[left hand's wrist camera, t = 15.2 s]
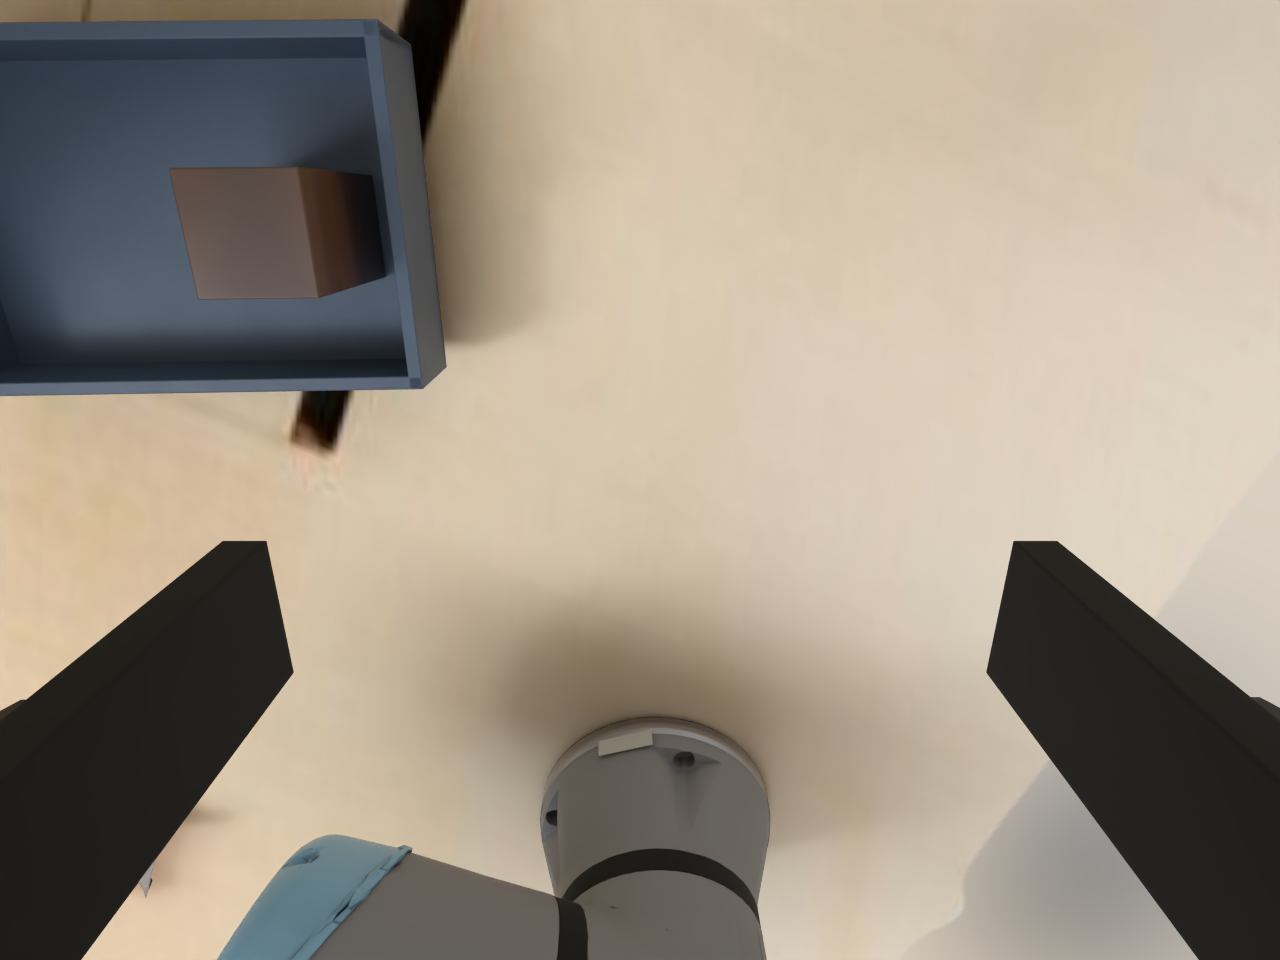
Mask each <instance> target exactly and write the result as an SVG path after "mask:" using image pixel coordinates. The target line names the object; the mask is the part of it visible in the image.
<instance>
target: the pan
mask: <svg viewBox="0 0 1280 960" xmlns="http://www.w3.org/2000/svg"><path fill="white" fill-rule="evenodd" d="M294 166H297V167H306V168H315V169H324V170H333V171H342V172H351V173H360V174H369V175H372V178H373V185H374V193H375V200H376V208H377V215H378V223H379V230H380V237H381V245H382V252H383V260H384V267H385V275H386V277H385V278H382V279H379V280H376V281H372V282H369V283H366V284H363V285H360V286H356V287H353V288H350V289H347V290H344V291H340V292H337V293H334V294H331V295H328V296H324V297H321V298H302V299H225V300H200V299H198V296H197V292H196V287H195V283H194V279H193V274H192V270H191V265H190V261H189V257H188V252H187V248H186V243H185V239H184V235H183V230H182V226H181V221H180V217H179V213H178V208H177V204H176V199H175V195H174V191H173V186H172V182H171V177H170V173H169V168H194V167H294ZM445 368H446V358H445V349H444V339H443V330H442V321H441V312H440V303H439V294H438V285H437V276H436V267H435V258H434V249H433V240H432V231H431V222H430V213H429V204H428V195H427V186H426V177H425V167H424V158H423V149H422V140H421V131H420V122H419V113H418V104H417V95H416V86H415V77H414V68H413V59H412V50H411V44H409V43H408V42H407V41H405V40H404V39H403V38H401V37H400V36H399V35H397V34H396V33H395V32H393V31H392V30H391V29H389V28H388V27H387V26H385V25H384V24H383V23H381V22H380V21H379V20H377V19H348V20H234V21H119V22H4V23H0V396H30V395H90V394H149V393H209V392H269V391H329V390H388V389H423V388H424V387H425V386H426V385H428V384H429V383H430V382H431V381H432V380H433V379H434V378H435V377H436V376H437V375H438V374H439V373H440V372H442V371H443V370H444V369H445Z"/></svg>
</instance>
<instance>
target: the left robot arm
mask: <svg viewBox="0 0 1280 960" xmlns="http://www.w3.org/2000/svg"><path fill="white" fill-rule="evenodd" d="M293 673H294V672H293V667H292V662H291V657H290V653H289V648H288V643H287V638H286V633H285V629H284V624H283V619H282V614H281V609H280V604H279V600H278V595H277V590H276V585H275V580H274V576H273V571H272V566H271V561H270V556H269V551H268V547H267V542H266V541H222V542H221V543H220V544H219V545H217V546H216V547H215V548H214V549H212V550H211V551H210V552H209V553H207V554H206V555H205V556H204V557H202V558H201V559H200V560H199V561H198V562H196V563H195V564H194V565H193V566H191V567H190V568H189V569H188V570H186V571H185V572H184V573H183V574H181V575H180V576H179V577H178V578H176V579H175V580H174V581H173V582H172V583H170V584H169V585H168V586H167V587H165V588H164V589H163V590H162V591H160V592H159V593H158V594H157V595H155V596H154V597H153V598H152V599H150V600H149V601H148V602H147V603H146V604H144V605H143V606H142V607H141V608H139V609H138V610H137V611H136V612H134V613H133V614H132V615H131V616H129V617H128V618H127V619H126V620H124V621H123V622H122V623H121V624H120V625H118V626H117V627H116V628H115V629H113V630H112V631H111V632H110V633H108V634H107V635H106V636H105V637H103V638H102V639H101V640H100V641H99V642H97V643H96V644H95V645H94V646H92V647H91V648H90V649H89V650H87V651H86V652H85V653H84V654H82V655H81V656H80V657H79V658H77V659H76V660H75V661H74V662H73V663H71V664H70V665H69V666H68V667H66V668H65V669H64V670H63V671H61V672H60V673H59V674H58V675H56V676H55V677H54V678H53V679H51V680H50V681H49V682H48V683H47V684H45V685H44V686H43V687H42V688H40V689H39V690H38V691H37V692H35V693H34V694H33V695H32V696H30V697H29V698H28V699H27V700H20V701H18V702H16V703H14V704H12V705H11V706H9V707H7V708H5V709H3V710H1V711H0V960H81V959H82V958H83V957H84V955H85V954H86V953H87V951H88V950H89V948H90V947H91V946H92V944H93V943H94V942H95V940H96V939H97V938H98V936H99V935H100V934H101V932H102V931H103V930H104V928H105V927H106V925H107V924H108V923H109V921H110V920H111V919H112V917H113V916H114V915H115V913H116V912H117V911H118V909H119V908H120V907H121V905H122V904H123V903H124V901H125V900H126V898H127V897H128V896H129V894H130V893H131V892H132V890H133V889H134V888H135V886H136V885H137V884H138V882H139V881H140V880H141V878H142V877H143V875H144V874H145V873H146V871H147V870H148V869H149V867H150V866H151V865H152V863H153V862H154V861H155V859H156V858H157V857H158V855H159V854H160V852H161V851H162V850H163V848H164V847H165V846H166V844H167V843H168V842H169V840H170V839H171V838H172V836H173V835H174V834H175V832H176V831H177V829H178V828H179V827H180V825H181V824H182V823H183V821H184V820H185V819H186V817H187V816H188V815H189V813H190V812H191V811H192V809H193V808H194V807H195V805H196V804H197V802H198V801H199V800H200V798H201V797H202V796H203V794H204V793H205V792H206V790H207V789H208V788H209V786H210V785H211V784H212V782H213V781H214V779H215V778H216V777H217V775H218V774H219V773H220V771H221V770H222V769H223V767H224V766H225V765H226V763H227V762H228V761H229V759H230V758H231V756H232V755H233V754H234V752H235V751H236V750H237V748H238V747H239V746H240V744H241V743H242V742H243V740H244V739H245V738H246V736H247V735H248V733H249V732H250V731H251V729H252V728H253V727H254V725H255V724H256V723H257V721H258V720H259V719H260V717H261V716H262V715H263V713H264V712H265V710H266V709H267V708H268V706H269V705H270V704H271V702H272V701H273V700H274V698H275V697H276V696H277V694H278V693H279V692H280V690H281V689H282V688H283V686H284V685H285V683H286V682H287V681H288V679H289V678H290V677H291V675H292V674H293ZM986 673H987V674H988V675H989V677H990V678H991V679H992V681H993V682H994V683H995V685H996V686H997V688H998V689H999V690H1000V692H1001V693H1002V694H1003V696H1004V697H1005V698H1006V700H1007V701H1008V702H1009V704H1010V705H1011V706H1012V708H1013V709H1014V711H1015V712H1016V713H1017V715H1018V716H1019V717H1020V719H1021V720H1022V721H1023V723H1024V724H1025V725H1026V727H1027V728H1028V729H1029V731H1030V732H1031V733H1032V735H1033V736H1034V738H1035V739H1036V740H1037V742H1038V743H1039V744H1040V746H1041V747H1042V748H1043V750H1044V751H1045V752H1046V754H1047V755H1048V756H1049V758H1050V759H1051V760H1052V762H1053V763H1054V765H1055V766H1056V767H1057V769H1058V770H1059V771H1060V773H1061V774H1062V775H1063V777H1064V778H1065V779H1066V781H1067V782H1068V784H1069V785H1070V786H1071V788H1072V789H1073V790H1074V792H1075V793H1076V794H1077V796H1078V797H1079V798H1080V800H1081V801H1082V802H1083V804H1084V805H1085V807H1086V808H1087V809H1088V811H1089V812H1090V813H1091V815H1092V816H1093V817H1094V819H1095V820H1096V821H1097V823H1098V824H1099V825H1100V827H1101V828H1102V829H1103V831H1104V832H1105V834H1106V835H1107V836H1108V838H1109V839H1110V840H1111V842H1112V843H1113V844H1114V846H1115V847H1116V848H1117V850H1118V851H1119V852H1120V854H1121V855H1122V857H1123V858H1124V859H1125V861H1126V862H1127V863H1128V865H1129V866H1130V867H1131V869H1132V870H1133V871H1134V873H1135V874H1136V875H1137V877H1138V878H1139V879H1140V881H1141V882H1142V884H1143V885H1144V886H1145V888H1146V889H1147V890H1148V892H1149V893H1150V894H1151V896H1152V897H1153V898H1154V900H1155V901H1156V903H1157V904H1158V905H1159V907H1160V908H1161V909H1162V910H1163V912H1164V913H1165V915H1166V916H1167V917H1168V919H1169V920H1170V921H1171V923H1172V924H1173V925H1174V927H1175V928H1176V930H1177V931H1178V932H1179V934H1180V935H1181V936H1182V938H1183V939H1184V940H1185V942H1186V943H1187V944H1188V946H1189V947H1190V948H1191V950H1192V951H1193V953H1194V954H1195V955H1196V957H1197V958H1198V959H1199V960H1280V708H1279V707H1277V706H1275V705H1273V704H1271V703H1270V702H1268V701H1266V700H1264V699H1262V698H1260V697H1250V696H1248V695H1247V694H1246V693H1245V692H1243V691H1242V690H1241V689H1240V688H1238V687H1237V686H1236V685H1235V684H1233V683H1232V682H1231V681H1230V680H1229V679H1227V678H1226V677H1225V676H1223V675H1222V674H1221V673H1220V672H1219V671H1217V670H1216V669H1215V668H1214V667H1212V666H1211V665H1210V664H1209V663H1207V662H1206V661H1205V660H1204V659H1203V658H1201V657H1200V656H1199V655H1198V654H1196V653H1195V652H1194V651H1193V650H1191V649H1190V648H1189V647H1188V646H1186V645H1185V644H1184V643H1183V642H1181V641H1180V640H1179V639H1178V638H1177V637H1175V636H1174V635H1173V634H1172V633H1170V632H1169V631H1168V630H1167V629H1165V628H1164V627H1163V626H1162V625H1160V624H1159V623H1158V622H1157V621H1155V620H1154V619H1153V618H1152V617H1151V616H1149V615H1148V614H1147V613H1146V612H1144V611H1143V610H1142V609H1141V608H1139V607H1138V606H1137V605H1136V604H1134V603H1133V602H1132V601H1131V600H1130V599H1128V598H1127V597H1126V596H1125V595H1123V594H1122V593H1121V592H1120V591H1118V590H1117V589H1116V588H1115V587H1113V586H1112V585H1111V584H1110V583H1108V582H1107V581H1106V580H1105V579H1104V578H1102V577H1101V576H1100V575H1099V574H1097V573H1096V572H1095V571H1094V570H1092V569H1091V568H1090V567H1089V566H1087V565H1086V564H1085V563H1084V562H1082V561H1081V560H1080V559H1079V558H1078V557H1076V556H1075V555H1074V554H1073V553H1071V552H1070V551H1069V550H1068V549H1066V548H1065V547H1064V546H1063V545H1061V544H1060V543H1059V542H1058V541H1014V542H1013V547H1012V551H1011V556H1010V561H1009V566H1008V571H1007V576H1006V580H1005V585H1004V590H1003V595H1002V600H1001V604H1000V609H999V614H998V619H997V624H996V629H995V633H994V638H993V643H992V648H991V653H990V657H989V662H988V667H987V672H986ZM540 822H541V836H542V843H543V848H544V852H545V856H546V861H547V865H548V869H549V873H550V878H551V882H552V886H553V891H554V895H555V896H553V895H551V894H547V893H544V892H540V891H537V890H533V889H530V888H526V887H523V886H519V885H516V884H512V883H509V882H505V881H502V880H498V879H495V878H491V877H488V876H484V875H481V874H478V873H475V872H472V871H468V870H465V869H462V868H459V867H456V866H452V865H449V864H446V863H443V862H439V861H436V860H433V859H430V858H427V857H423V856H420V855H417V854H414V853H411V852H412V848H411V847H408V846H405V845H403V846H400V847H398V848H395V847H391V846H387V845H382V844H378V843H374V842H370V841H365V840H361V839H357V838H353V837H349V836H344V835H327V836H323V837H320V838H317V839H315V840H313V841H311V842H309V843H308V844H306V845H304V846H303V847H302V848H300V849H299V850H298V851H297V852H296V853H295V854H294V855H293V856H291V857H290V858H289V860H288V861H287V862H286V863H285V864H284V865H283V866H282V867H281V869H280V870H279V871H278V872H277V874H276V875H275V876H274V877H273V879H272V880H271V881H270V883H269V884H268V885H267V887H266V888H265V889H264V891H263V892H262V893H261V895H260V896H259V898H258V899H257V900H256V902H255V903H254V905H253V906H252V907H251V909H250V910H249V912H248V913H247V915H246V916H245V918H244V919H243V921H242V922H241V924H240V925H239V927H238V928H237V930H236V931H235V933H234V934H233V936H232V937H231V939H230V940H229V942H228V943H227V945H226V946H225V948H224V949H223V951H222V952H221V954H220V956H219V957H218V959H217V960H767V959H766V954H765V948H764V942H763V936H762V931H761V926H760V920H759V914H758V907H757V903H758V898H759V892H760V886H761V881H762V875H763V870H764V864H765V858H766V852H767V846H768V841H769V835H770V811H769V805H768V800H767V795H766V791H765V787H764V783H763V780H762V777H761V775H760V773H759V771H758V769H757V767H756V766H755V764H754V763H753V761H752V760H751V759H750V757H749V756H748V755H747V754H746V753H745V752H744V751H743V750H742V749H741V748H740V747H739V746H738V745H737V744H736V743H734V742H733V741H731V740H730V739H729V738H727V737H726V736H724V735H722V734H720V733H719V732H717V731H715V730H712V729H710V728H708V727H705V726H703V725H700V724H697V723H693V722H689V721H685V720H680V719H673V718H657V717H651V718H638V719H631V720H626V721H622V722H618V723H615V724H611V725H608V726H606V727H603V728H601V729H599V730H596V731H594V732H592V733H591V734H589V735H587V736H585V737H584V738H582V739H581V740H579V741H578V742H577V743H575V744H574V745H573V746H572V747H570V748H569V749H568V750H567V751H566V752H565V753H564V754H563V756H562V757H561V758H560V759H559V760H558V762H557V763H556V765H555V766H554V768H553V769H552V771H551V773H550V776H549V778H548V780H547V783H546V786H545V791H544V796H543V802H542V808H541V818H540Z"/></svg>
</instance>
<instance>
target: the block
mask: <svg viewBox="0 0 1280 960" xmlns="http://www.w3.org/2000/svg"><path fill="white" fill-rule="evenodd" d="M169 173H170V177H171V182H172V186H173V191H174V195H175V199H176V204H177V208H178V213H179V217H180V221H181V226H182V230H183V235H184V239H185V243H186V248H187V252H188V257H189V261H190V265H191V270H192V274H193V279H194V283H195V287H196V292H197V296H198V299H200V300H225V299H302V298H321V297H324V296H328V295H331V294H334V293H337V292H340V291H344V290H347V289H350V288H353V287H356V286H360V285H363V284H366V283H369V282H372V281H376V280H379V279H382V278H385V277H386V275H385V267H384V260H383V252H382V245H381V237H380V230H379V223H378V215H377V208H376V200H375V193H374V185H373V178H372V175H369V174H360V173H351V172H342V171H333V170H324V169H315V168H306V167H297V166H294V167H194V168H169Z"/></svg>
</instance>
